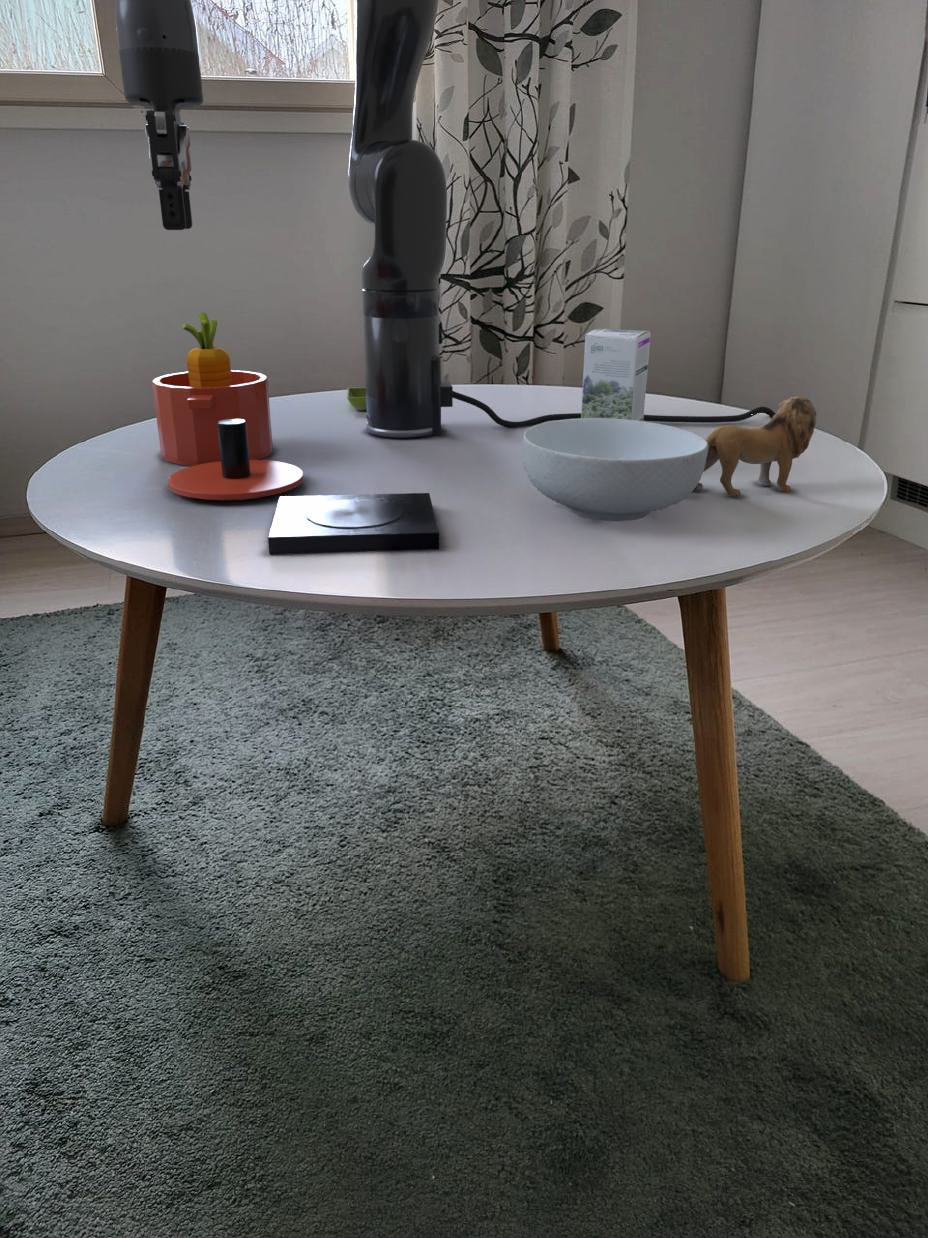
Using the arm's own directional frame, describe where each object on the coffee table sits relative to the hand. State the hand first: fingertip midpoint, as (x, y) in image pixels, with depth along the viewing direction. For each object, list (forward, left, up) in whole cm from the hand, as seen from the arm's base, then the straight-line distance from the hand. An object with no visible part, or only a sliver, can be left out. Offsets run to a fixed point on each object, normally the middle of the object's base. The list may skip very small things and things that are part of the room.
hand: (178, 229), depth 97 cm
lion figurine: (-57, +19, -24) cm, 65 cm away
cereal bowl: (-41, +25, -24) cm, 54 cm away
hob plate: (-17, +29, -24) cm, 41 cm away
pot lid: (-5, +14, -23) cm, 28 cm away
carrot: (-1, -1, -24) cm, 24 cm away
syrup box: (-45, +9, -24) cm, 52 cm away
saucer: (-20, -28, -24) cm, 43 cm away
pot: (-1, -1, -24) cm, 24 cm away
